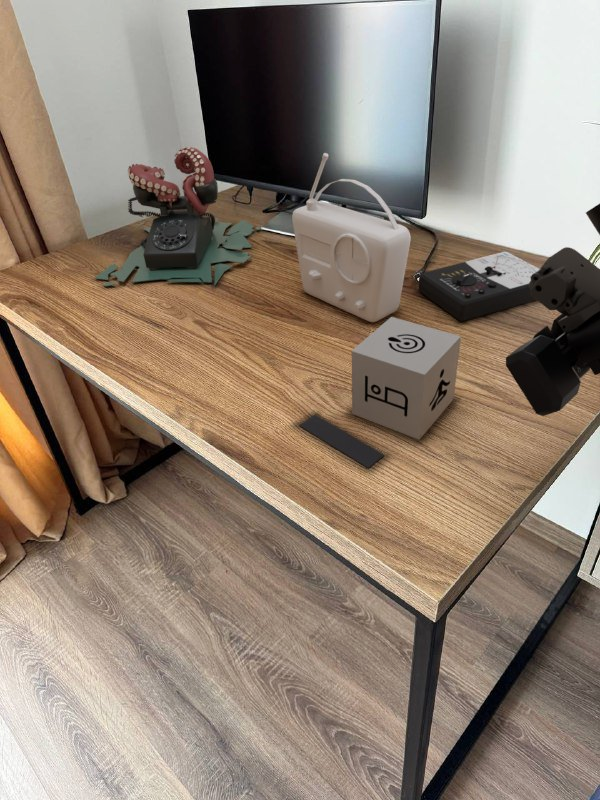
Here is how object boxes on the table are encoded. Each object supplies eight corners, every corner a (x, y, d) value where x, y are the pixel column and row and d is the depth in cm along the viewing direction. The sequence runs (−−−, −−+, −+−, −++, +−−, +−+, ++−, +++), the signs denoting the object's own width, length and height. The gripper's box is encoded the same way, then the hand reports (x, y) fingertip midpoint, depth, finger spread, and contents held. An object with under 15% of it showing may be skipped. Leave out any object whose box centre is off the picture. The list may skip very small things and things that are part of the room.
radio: (288, 292, 109) (277, 151, 94) (321, 277, 113) (315, 140, 98) (376, 333, 95) (379, 175, 80) (409, 315, 99) (418, 161, 84)
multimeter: (416, 292, 106) (418, 266, 103) (503, 268, 111) (507, 243, 108) (460, 323, 96) (463, 296, 93) (553, 296, 101) (559, 269, 98)
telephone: (137, 224, 143) (117, 136, 131) (265, 220, 140) (256, 129, 128) (86, 289, 115) (55, 185, 103) (244, 285, 112) (231, 178, 100)
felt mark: (384, 456, 72) (384, 454, 72) (368, 468, 70) (368, 467, 70) (315, 415, 79) (314, 414, 79) (299, 426, 78) (299, 425, 77)
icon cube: (352, 413, 79) (351, 350, 73) (389, 377, 85) (391, 316, 79) (419, 439, 74) (424, 374, 68) (453, 399, 80) (461, 336, 74)
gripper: (646, 201, 55) (518, 278, 68) (547, 268, 45) (420, 342, 58) (710, 302, 55) (569, 359, 68) (625, 391, 45) (480, 438, 58)
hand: (513, 371), depth 63 cm, fingers closed
